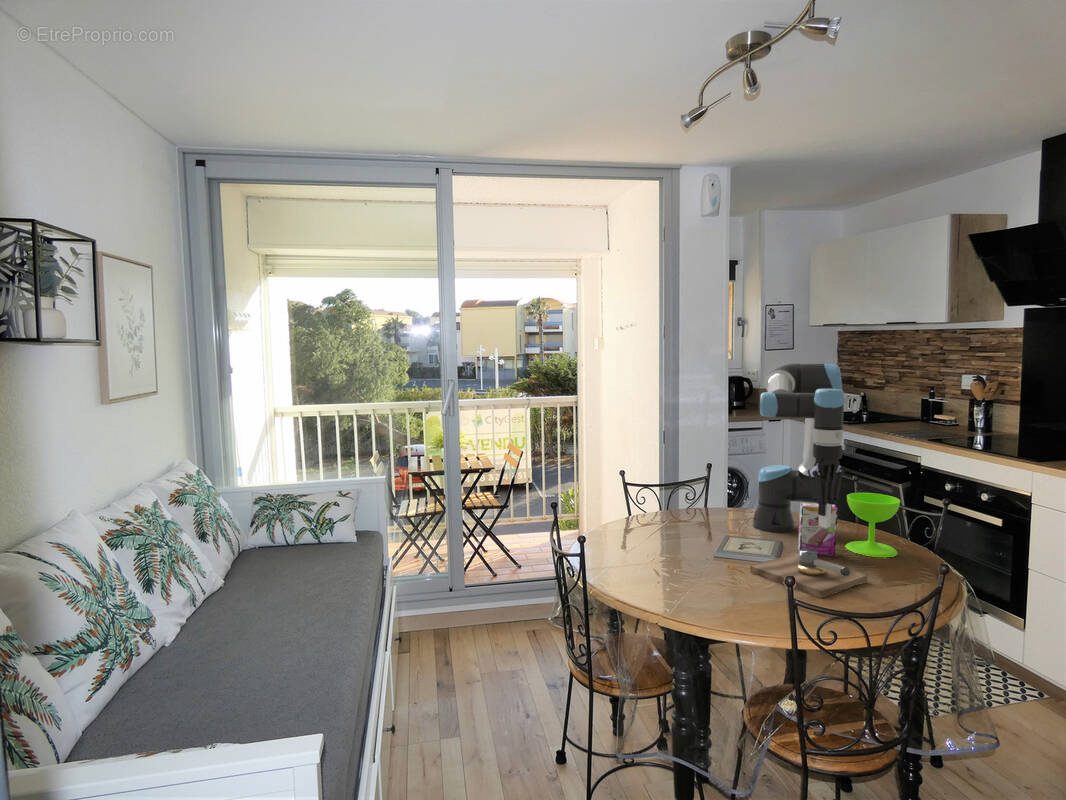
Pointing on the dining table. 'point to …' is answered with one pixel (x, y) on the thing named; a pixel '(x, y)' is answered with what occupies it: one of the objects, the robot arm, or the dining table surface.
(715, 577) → the dining table surface
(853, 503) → the wineglass
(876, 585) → the dining table surface
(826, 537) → the candy bar box
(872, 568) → the dining table surface
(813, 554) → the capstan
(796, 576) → the board
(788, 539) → the dining table surface
